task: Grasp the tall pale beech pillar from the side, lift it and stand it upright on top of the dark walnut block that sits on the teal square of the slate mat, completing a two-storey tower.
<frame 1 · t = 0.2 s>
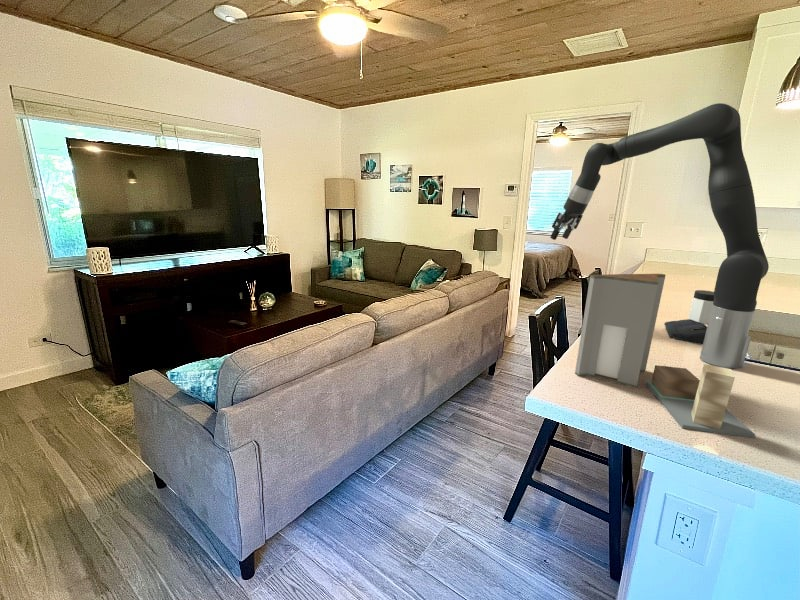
hand: (558, 238, 148), 32 cm above the counter, tool tilted 20°, fingers open, 8 cm apart
base block: (672, 391, 93), point 1 cm above the counter, touching mat
pillar: (705, 420, 81), point 1 cm above the counter, touching mat
dark slate chunk: (690, 335, 137), on the counter
mat: (693, 407, 87), on the counter
jar: (700, 321, 152), on the counter
cabinet: (620, 380, 101), on the counter
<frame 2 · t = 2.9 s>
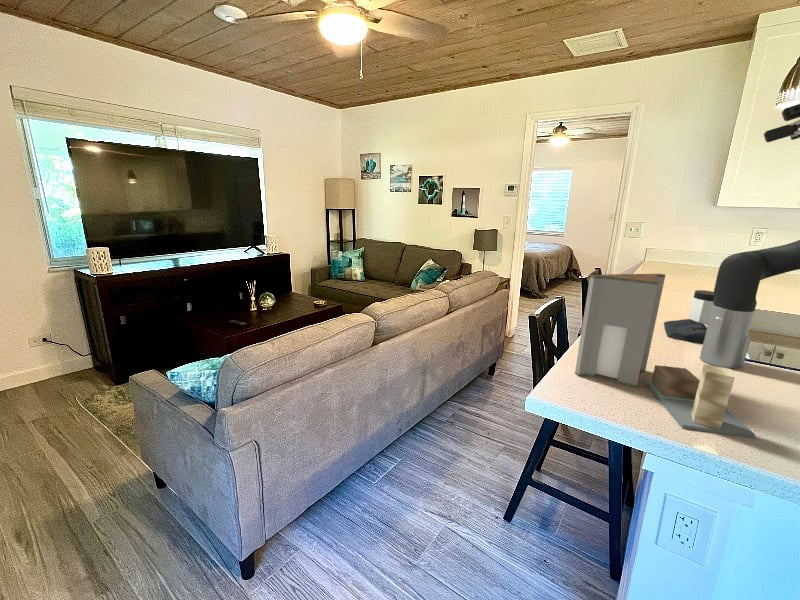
hand: (773, 127, 72), 61 cm above the counter, tool tilted 70°, fingers open, 8 cm apart
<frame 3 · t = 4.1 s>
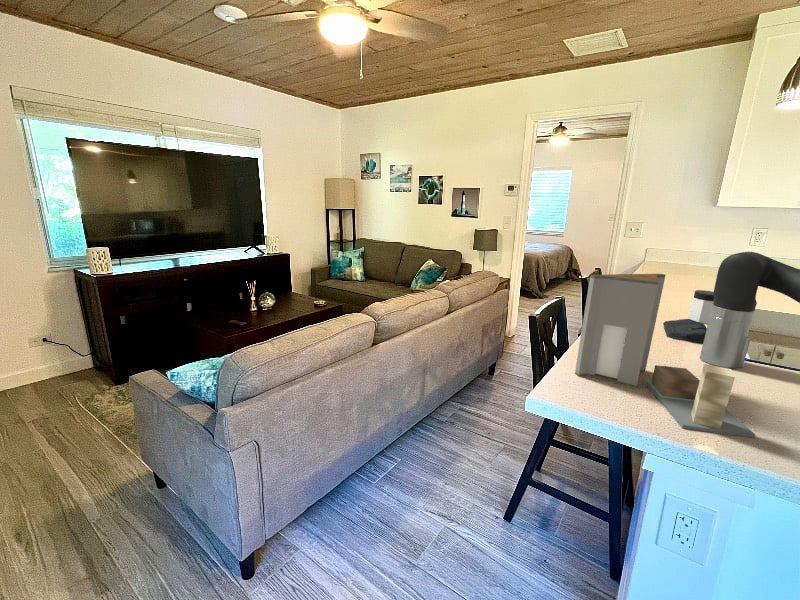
nothing on the counter moved.
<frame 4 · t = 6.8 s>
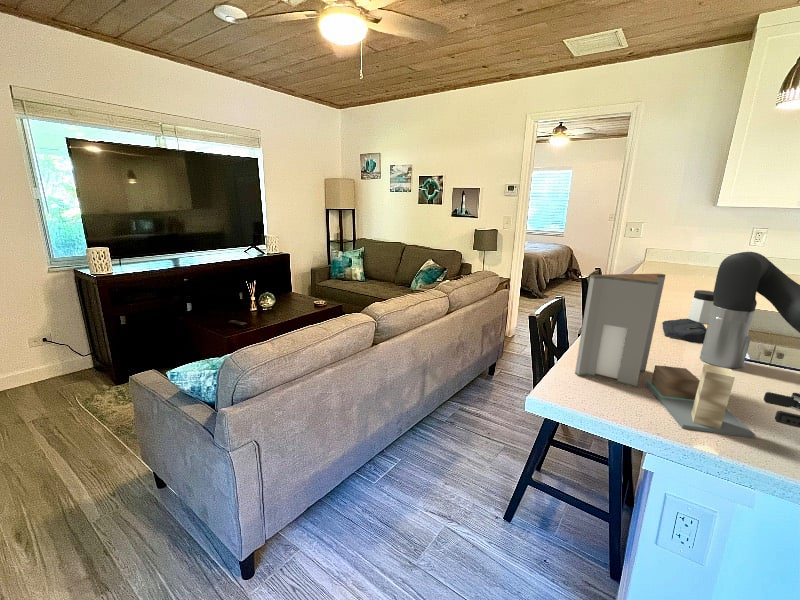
hand: (770, 405, 74), 8 cm above the counter, tool horizontal, fingers open, 8 cm apart
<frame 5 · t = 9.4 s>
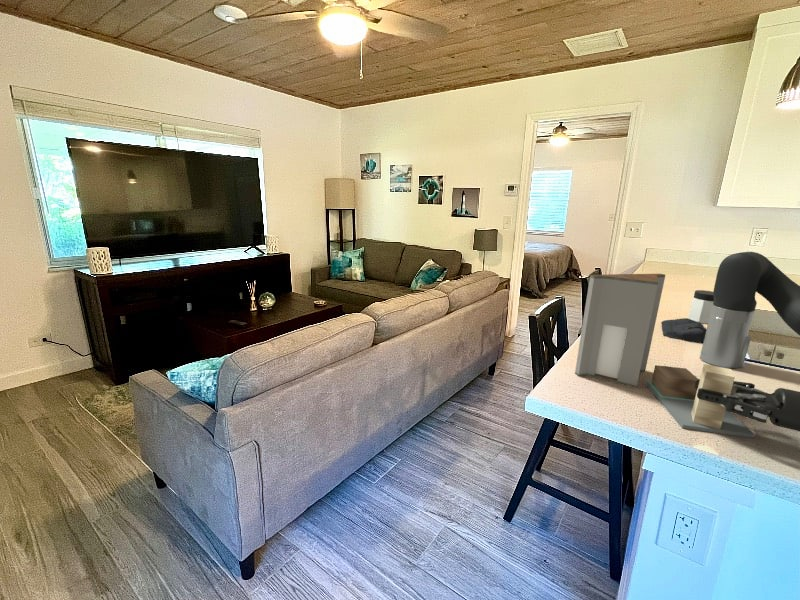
hand: (697, 388, 80), 8 cm above the counter, tool horizontal, fingers closed on pillar, 4 cm apart
pillar: (705, 420, 81), point 1 cm above the counter, touching gripper, mat
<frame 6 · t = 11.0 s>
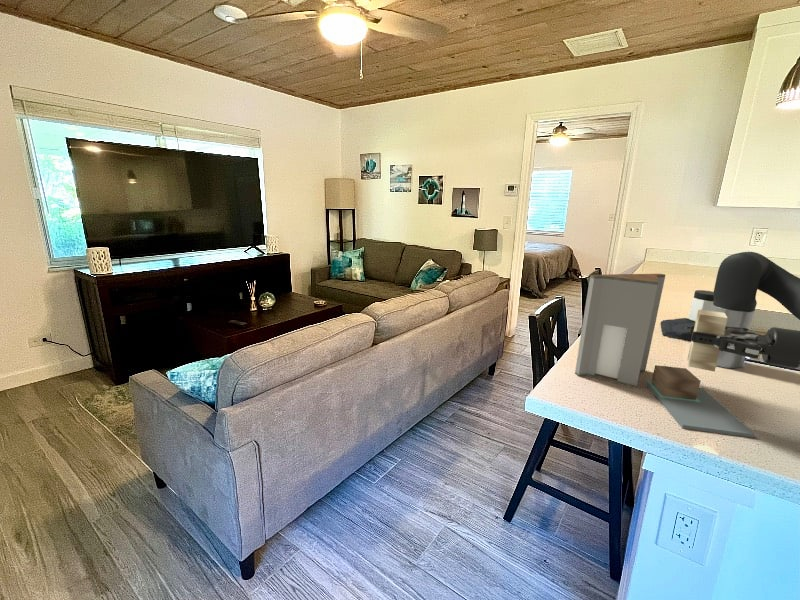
hand: (691, 333, 82), 19 cm above the counter, tool horizontal, fingers closed on pillar, 4 cm apart
pillar: (700, 365, 82), point 12 cm above the counter, touching gripper
when the fingers open (14 cm above the counter, at t = 13.0 s): pillar drops 1 cm, resting on base block.
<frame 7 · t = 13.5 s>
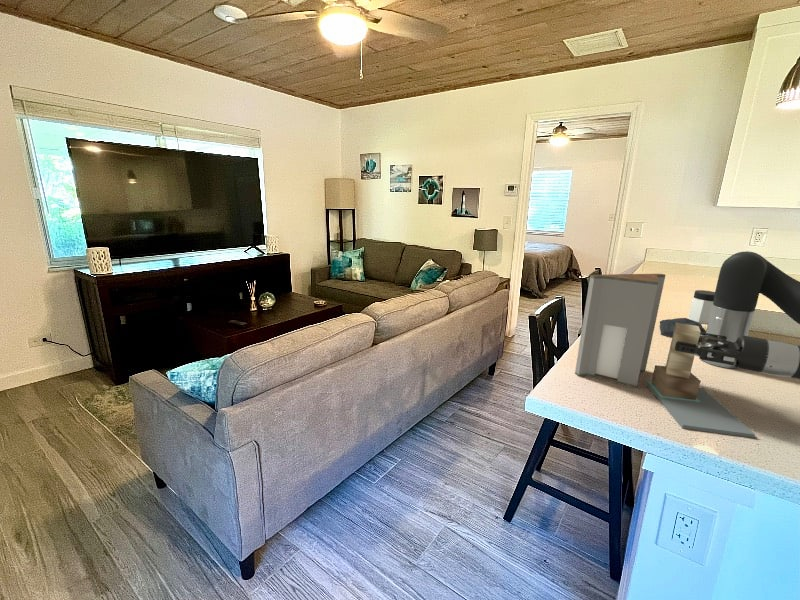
hand: (674, 340, 91), 14 cm above the counter, tool horizontal, fingers open, 8 cm apart
base block: (672, 391, 93), point 1 cm above the counter, touching mat, pillar
pillar: (676, 372, 92), point 6 cm above the counter, touching base block
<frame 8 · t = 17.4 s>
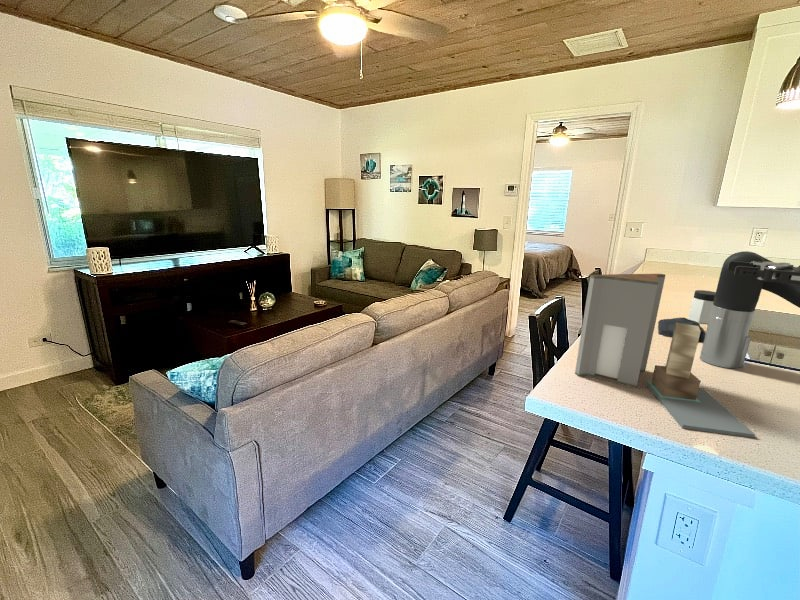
hand: (731, 268, 86), 32 cm above the counter, tool horizontal, fingers open, 8 cm apart
at the end: pillar 0.0 cm off-centre on the base block, point 5.0 cm above the base block's base; pillar tilted 0°; the gripper is holding nothing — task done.
